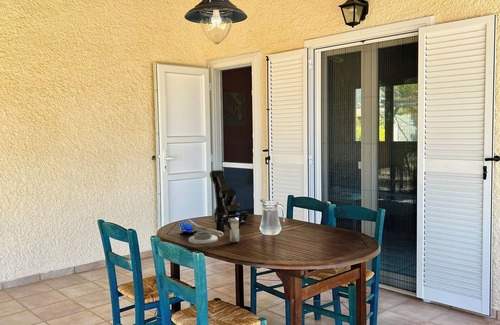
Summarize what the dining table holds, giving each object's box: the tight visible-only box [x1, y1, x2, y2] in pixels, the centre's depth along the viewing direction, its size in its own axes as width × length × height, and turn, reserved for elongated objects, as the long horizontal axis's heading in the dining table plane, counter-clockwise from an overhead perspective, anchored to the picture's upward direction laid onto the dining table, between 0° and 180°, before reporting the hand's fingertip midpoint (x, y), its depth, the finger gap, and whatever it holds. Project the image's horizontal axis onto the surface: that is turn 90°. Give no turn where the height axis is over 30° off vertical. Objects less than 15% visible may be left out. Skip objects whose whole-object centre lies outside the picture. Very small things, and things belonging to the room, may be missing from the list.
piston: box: [228, 217, 240, 242], centre depth 264 cm, size 5×5×13 cm
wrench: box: [184, 219, 224, 238], centre depth 288 cm, size 8×2×30 cm
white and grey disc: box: [188, 231, 219, 245], centre depth 271 cm, size 17×17×4 cm
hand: (235, 229), depth 262 cm, fingers closed on piston, 5 cm apart
